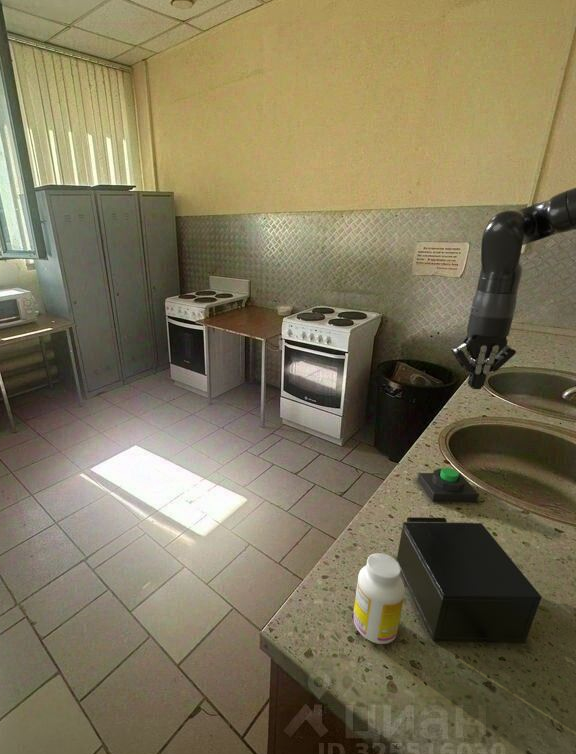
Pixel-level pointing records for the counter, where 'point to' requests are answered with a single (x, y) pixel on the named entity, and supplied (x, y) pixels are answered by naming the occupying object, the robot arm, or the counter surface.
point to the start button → (449, 474)
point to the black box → (465, 584)
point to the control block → (447, 488)
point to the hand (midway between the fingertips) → (474, 387)
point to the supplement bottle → (379, 599)
